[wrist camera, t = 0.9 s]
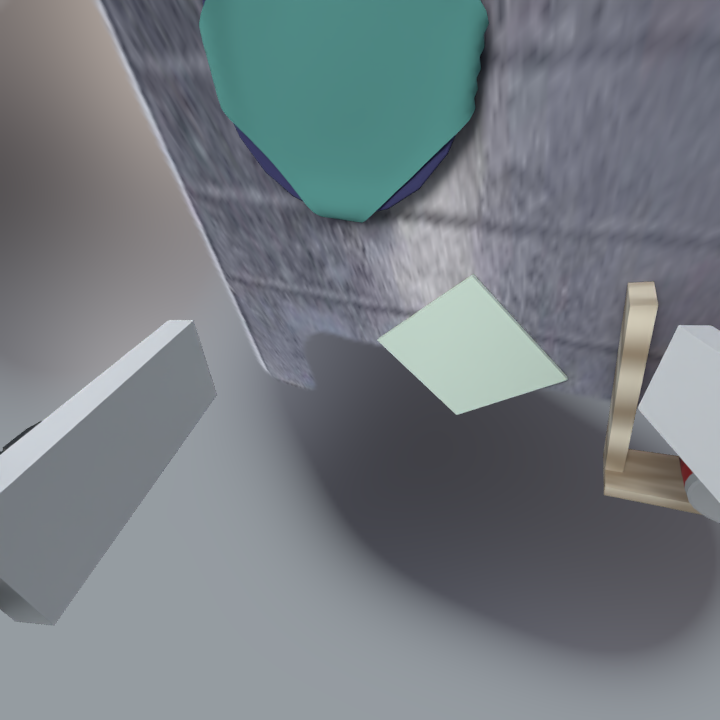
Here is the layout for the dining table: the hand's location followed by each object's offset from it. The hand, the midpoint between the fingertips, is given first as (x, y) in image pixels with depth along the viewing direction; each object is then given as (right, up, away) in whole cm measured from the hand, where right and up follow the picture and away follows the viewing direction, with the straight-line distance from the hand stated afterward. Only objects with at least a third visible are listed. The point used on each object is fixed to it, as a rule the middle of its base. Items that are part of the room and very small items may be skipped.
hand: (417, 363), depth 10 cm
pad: (+9, +1, +28) cm, 29 cm away
